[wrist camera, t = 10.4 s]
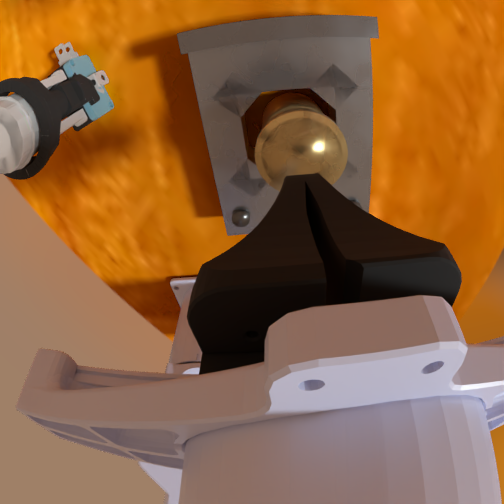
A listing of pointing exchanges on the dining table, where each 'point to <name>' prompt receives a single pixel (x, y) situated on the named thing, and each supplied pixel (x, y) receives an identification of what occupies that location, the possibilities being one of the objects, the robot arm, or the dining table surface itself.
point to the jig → (281, 78)
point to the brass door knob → (298, 141)
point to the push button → (48, 111)
